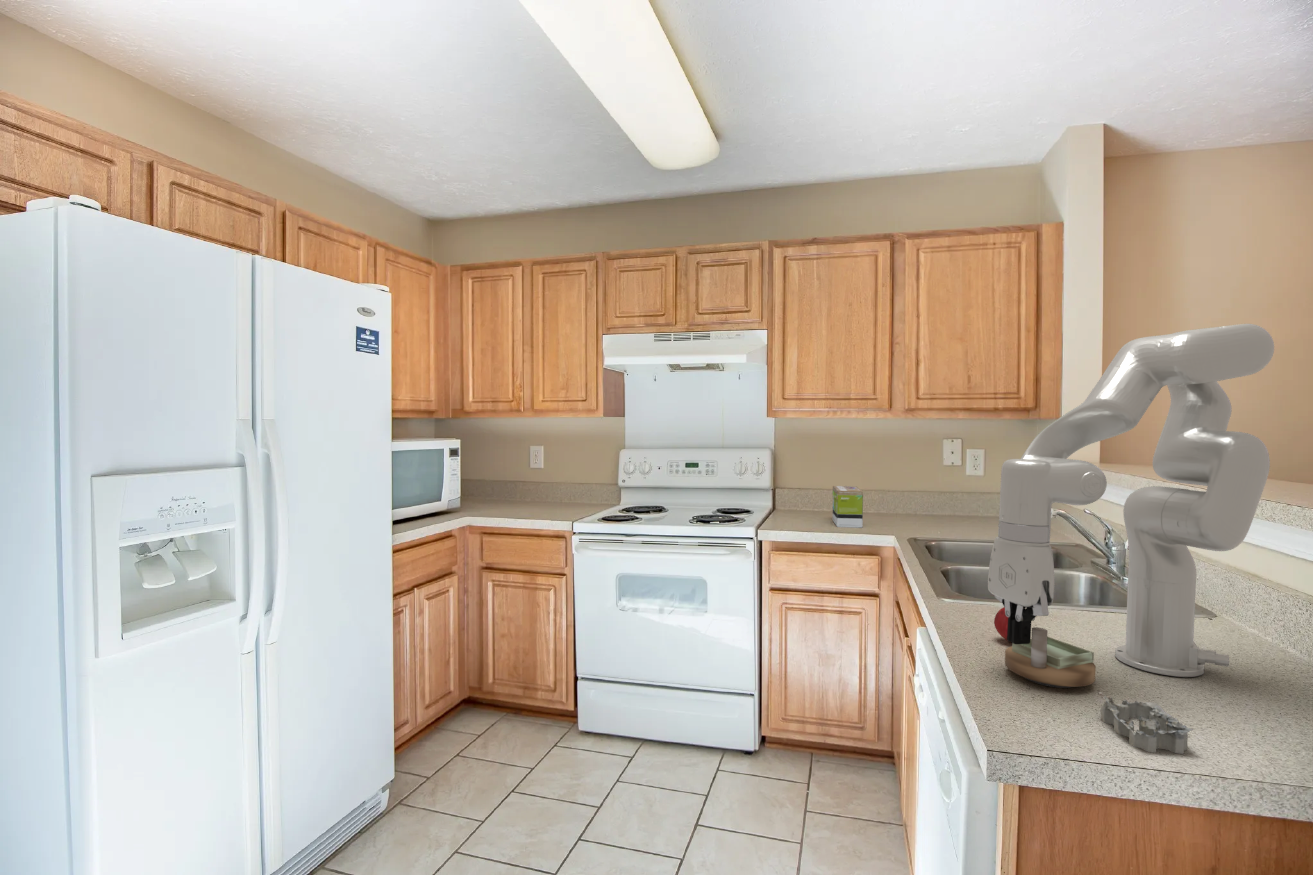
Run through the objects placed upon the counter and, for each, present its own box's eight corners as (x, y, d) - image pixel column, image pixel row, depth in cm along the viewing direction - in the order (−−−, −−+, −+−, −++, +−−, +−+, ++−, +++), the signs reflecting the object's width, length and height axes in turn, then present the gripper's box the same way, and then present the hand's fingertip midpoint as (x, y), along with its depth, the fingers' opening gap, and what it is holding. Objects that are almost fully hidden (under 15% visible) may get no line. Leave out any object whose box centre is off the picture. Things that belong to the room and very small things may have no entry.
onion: (1032, 648, 123) (1033, 606, 122) (999, 646, 124) (1000, 604, 123) (1021, 638, 128) (1022, 598, 128) (989, 636, 129) (991, 596, 129)
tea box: (831, 521, 267) (832, 485, 267) (856, 521, 266) (857, 485, 265) (836, 527, 252) (837, 489, 252) (863, 528, 251) (864, 490, 250)
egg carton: (1093, 716, 96) (1093, 688, 96) (1149, 720, 95) (1150, 692, 95) (1133, 752, 85) (1134, 722, 85) (1197, 758, 84) (1198, 727, 84)
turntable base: (1076, 674, 110) (1076, 669, 110) (1077, 692, 103) (1077, 685, 103) (1022, 665, 114) (1022, 659, 114) (1020, 680, 108) (1020, 674, 108)
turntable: (1040, 651, 117) (1042, 608, 117) (1114, 679, 105) (1116, 631, 105) (987, 661, 113) (988, 615, 112) (1058, 691, 100) (1059, 640, 100)
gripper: (973, 525, 114) (968, 628, 115) (1039, 542, 100) (1033, 660, 100) (1010, 525, 116) (1005, 627, 116) (1080, 542, 101) (1074, 658, 102)
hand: (1018, 642), depth 108 cm, fingers closed
